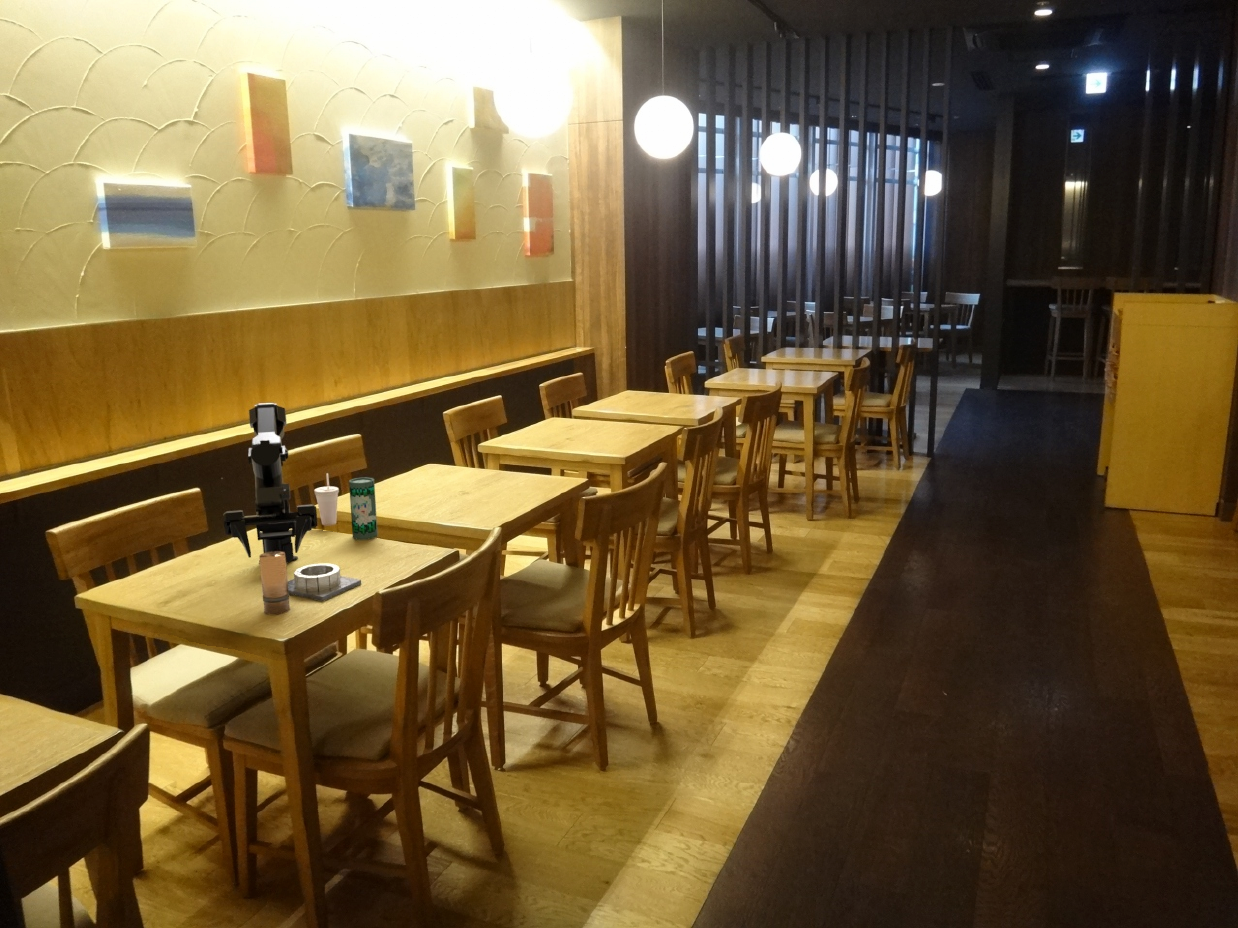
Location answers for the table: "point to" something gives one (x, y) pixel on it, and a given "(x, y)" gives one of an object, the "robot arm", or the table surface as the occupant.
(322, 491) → the smoothie
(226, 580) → the table surface
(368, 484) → the can
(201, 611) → the table surface
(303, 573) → the plate
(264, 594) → the tan cylinder
